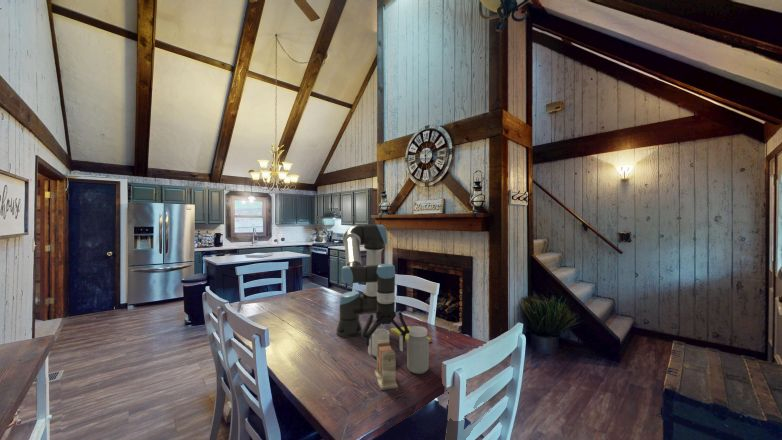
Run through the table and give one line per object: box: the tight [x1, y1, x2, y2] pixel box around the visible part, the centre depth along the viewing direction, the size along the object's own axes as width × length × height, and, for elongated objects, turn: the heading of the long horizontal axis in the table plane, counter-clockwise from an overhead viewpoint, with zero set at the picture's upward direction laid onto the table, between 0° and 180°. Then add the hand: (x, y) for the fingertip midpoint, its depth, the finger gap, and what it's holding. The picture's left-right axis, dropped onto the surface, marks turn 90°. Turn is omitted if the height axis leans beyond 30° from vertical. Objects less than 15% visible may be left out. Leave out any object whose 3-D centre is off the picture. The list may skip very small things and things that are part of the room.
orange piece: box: [379, 345, 394, 373], centre depth 122 cm, size 5×4×9 cm
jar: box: [406, 325, 430, 375], centre depth 131 cm, size 10×10×18 cm
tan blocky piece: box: [374, 340, 399, 391], centre depth 122 cm, size 14×7×14 cm, turn 13°
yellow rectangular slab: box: [389, 325, 432, 343], centre depth 167 cm, size 12×2×24 cm
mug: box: [371, 328, 391, 358], centre depth 146 cm, size 12×9×11 cm
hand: (385, 351), depth 123 cm, fingers open, 13 cm apart
